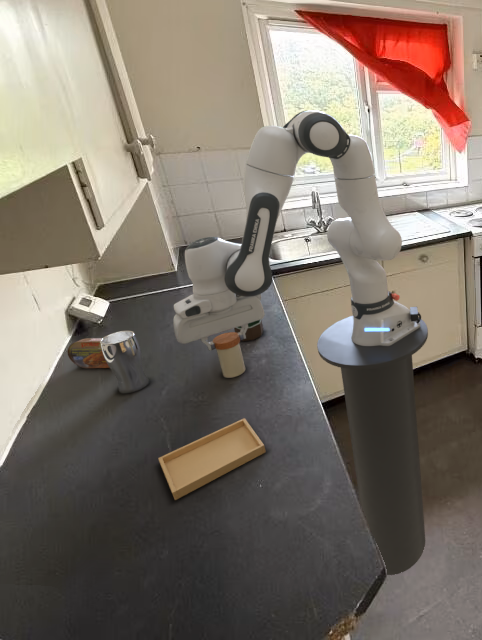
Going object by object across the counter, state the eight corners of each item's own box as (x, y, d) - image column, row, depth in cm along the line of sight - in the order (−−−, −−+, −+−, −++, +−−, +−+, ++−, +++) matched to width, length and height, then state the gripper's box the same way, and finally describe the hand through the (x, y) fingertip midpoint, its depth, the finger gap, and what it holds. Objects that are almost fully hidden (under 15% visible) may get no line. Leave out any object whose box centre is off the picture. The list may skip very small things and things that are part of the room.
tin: (71, 368, 119) (61, 342, 116) (82, 362, 122) (72, 336, 119) (127, 368, 119) (118, 342, 116) (136, 361, 122) (127, 336, 119)
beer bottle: (246, 328, 141) (231, 261, 132) (269, 329, 140) (255, 262, 132) (230, 341, 133) (213, 271, 125) (255, 342, 133) (239, 272, 125)
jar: (241, 364, 122) (234, 332, 119) (248, 371, 119) (240, 339, 115) (220, 372, 118) (211, 339, 115) (226, 380, 115) (217, 347, 111)
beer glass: (115, 385, 112) (97, 336, 107) (149, 374, 117) (133, 327, 111) (118, 398, 107) (99, 347, 102) (153, 386, 112) (136, 337, 107)
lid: (236, 335, 120) (234, 329, 119) (243, 343, 116) (242, 337, 115) (211, 343, 115) (209, 337, 115) (218, 352, 111) (216, 346, 111)
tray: (246, 424, 100) (244, 417, 99) (265, 452, 92) (264, 445, 92) (160, 465, 88) (158, 458, 88) (175, 500, 81) (172, 492, 80)
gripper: (255, 283, 120) (263, 326, 125) (165, 307, 106) (179, 354, 110) (263, 290, 116) (272, 333, 121) (171, 315, 102) (185, 364, 106)
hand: (227, 343), depth 115 cm, fingers closed on lid, 6 cm apart
